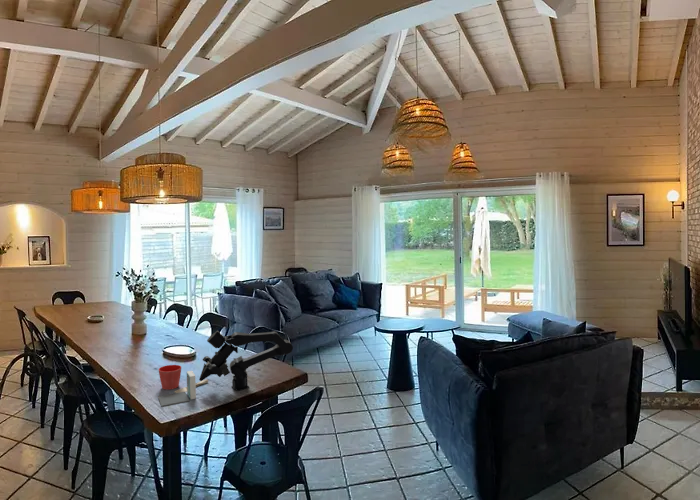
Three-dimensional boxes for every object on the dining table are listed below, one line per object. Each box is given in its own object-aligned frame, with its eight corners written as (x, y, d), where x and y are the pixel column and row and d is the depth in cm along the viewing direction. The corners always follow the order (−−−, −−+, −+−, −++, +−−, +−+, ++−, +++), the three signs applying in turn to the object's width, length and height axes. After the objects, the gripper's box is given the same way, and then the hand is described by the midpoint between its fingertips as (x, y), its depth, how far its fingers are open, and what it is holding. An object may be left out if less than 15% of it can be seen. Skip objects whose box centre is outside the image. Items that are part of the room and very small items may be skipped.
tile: (192, 392, 214) (192, 370, 213) (195, 398, 207) (195, 375, 206) (187, 394, 212) (186, 371, 212) (190, 399, 206) (189, 376, 205)
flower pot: (185, 382, 227) (184, 364, 227) (177, 390, 216) (176, 371, 216) (164, 383, 227) (163, 364, 226) (155, 391, 216) (154, 371, 215)
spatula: (204, 380, 229) (204, 378, 229) (210, 382, 226) (210, 380, 226) (174, 392, 215) (174, 390, 214) (179, 395, 212) (179, 393, 212)
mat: (185, 392, 214) (185, 391, 214) (189, 401, 203) (189, 400, 203) (158, 397, 208) (158, 396, 208) (161, 407, 198) (161, 405, 198)
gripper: (240, 369, 211) (217, 396, 206) (229, 358, 227) (208, 383, 223) (223, 355, 207) (199, 383, 202) (213, 346, 223) (191, 371, 218)
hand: (200, 380), depth 211 cm, fingers closed
